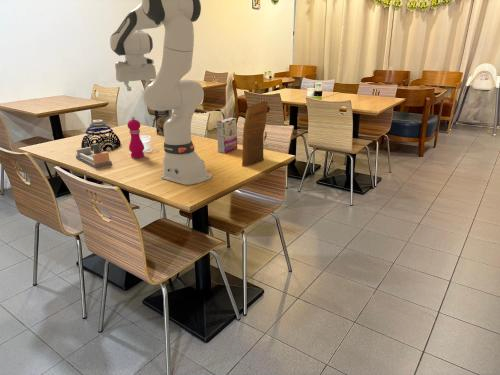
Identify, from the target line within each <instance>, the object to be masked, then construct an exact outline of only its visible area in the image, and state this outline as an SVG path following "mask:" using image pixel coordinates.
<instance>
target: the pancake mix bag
mask: <svg viewBox="0 0 500 375" xmlns="http://www.w3.org/2000/svg"><path fill="white" fill-rule="evenodd" d="M267 114H268V102H267V100H264V101H261V102H258V103H256V104H252V105H249V106H247V109H246V112H245V117H244V122H243V128H242V129H243V130H242V150H241V151H242V154H241V156H242V158H241V159H242V160H241V164H242V165H241V167H250V166H253V165H256V164H257V163H260V162H262V161H264V135H265V129H266V123H267Z"/></svg>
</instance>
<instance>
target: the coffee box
mask: <svg viewBox="0 0 500 375" xmlns="http://www.w3.org/2000/svg"><path fill="white" fill-rule="evenodd" d="M172 114H173V110H165V111H157V110H154V116H155V128H156V135H162V136H163V135H164V123H165V121H166V120H168V119H169V118H170V117H171V115H172Z"/></svg>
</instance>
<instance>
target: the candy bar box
mask: <svg viewBox="0 0 500 375" xmlns="http://www.w3.org/2000/svg"><path fill="white" fill-rule="evenodd" d="M237 124H238V122H237V118H235V117H227V118H223V119H220V120H217V121H216V133H217V135H216V136H217V152H218V153H220V154H228V153H229V152H232V151H235V150H237V149H238V129H237V128H238V127H237V126H238V125H237Z"/></svg>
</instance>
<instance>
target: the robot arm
mask: <svg viewBox="0 0 500 375" xmlns="http://www.w3.org/2000/svg"><path fill="white" fill-rule="evenodd" d="M201 11H202V5H201V1H200V0H141V3H140V4H139V5H138V6H137V7H136V8H134V9H133V10H131V11H130V12H128V13H127V15H126V16H125V17H124V19H123V20H122V22H121V23H120V25H119V26H118V28H117V29H116V30H115V31H114V32H113V33H112V34H111V35H110V38H109V39H110V40H109V44H110V48H111V50H112V52H114V53H115V54H116V55H118V56H119V57H120V56H124V59H125V60H122V61H120V60H119V61H117V62H116V63H115V66H114V67H115V77H116V78H115V79H116V82H119V83H123V84H124V85H125V87H126V91H127V92H131V91H132V86H130V85H129V84H130V83H129V82H137V81H145V84H144V85H143V89H144V90H143V96H142V97H143V98H142V99H143V101H144V102H143V103H144V104H145V105H146V107H147V108H148V109H149V110H151V111H155V110H157V111H165V110H172V115H171V117H170V118H169V119H168V120H166V121H165V123H164V136H163V137H164V142H163V149H164V152H165V153H164V156H163V158H162V174H161V176H160V178H161V179H163V180H167V181H170V182H173V183H177V184H180V185H184V186H188V185H189V186H190V185H195V184H200V183H203V182H206V181H209V180H210V179H212V177H213V175H212V174H211V173H209V172H208V171H207V168H206V164H205V161H204V159H202V158H201V157H200V156H199V155H198V154H197V152H196V151H195V148H196V145H194V143H193V141H192V120H193V116H194V114H195V111H196V109H197V108H198V107H199V106H200V105H201V104H202V102H203V100H204V95H205V93H204V89H203V88H204V87H203V86H202V84H201V83H199V82H198V81H195V80H187V79H185V80H184V79H183V80H182V78H184V76H186V75H187V74H188V73H190V71H191V69H192V64H193V57H194V56H193V55H194V46H195V38H194V37H195V34H194V33H195V31H194V22H196V21H197V20H198V19H199V17H200V16H201ZM162 25H163V27H164V38H163V50H162V59H161V60H162V61H161V66H160V68H159V71H158V72H156V67H155V65H154V62H155V61H154V59H152V58H149V57H146V56H145V55H148V54H150V53H151V51H153V50H152V49H153V48H154V46H153V45H154V43H153V38H152V36H151V35H150V34H149V33H148V32H145V31H143V30H147V29H157V28H159V27H161V26H162ZM151 80H152V81H151Z"/></svg>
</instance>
